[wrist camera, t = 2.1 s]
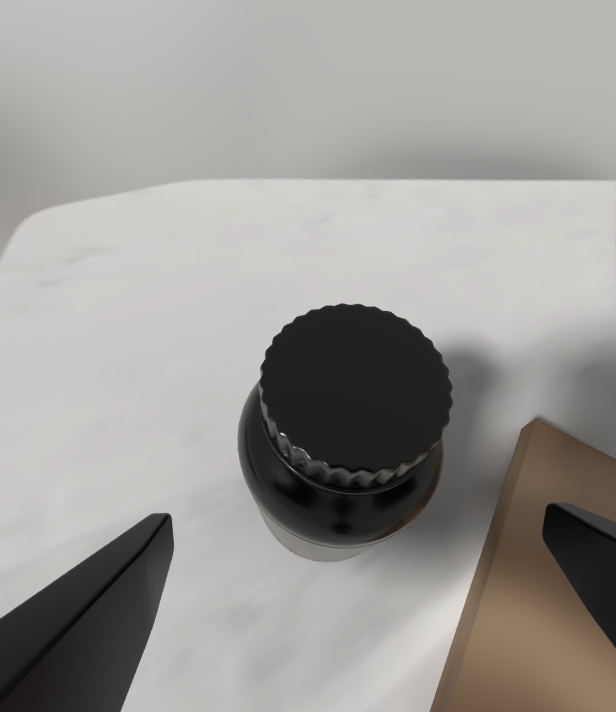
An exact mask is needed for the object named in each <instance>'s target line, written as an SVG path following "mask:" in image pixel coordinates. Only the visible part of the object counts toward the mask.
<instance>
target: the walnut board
mask: <svg viewBox="0 0 616 712" xmlns="http://www.w3.org/2000/svg"><path fill="white" fill-rule="evenodd" d="M551 502H567V503H570V504H573V505H575V506H577V507H580V508H582V509H585V510H587V511H590V512H592V513H595V514H597V515H600V516H602V517H605V518H607V519H610V520H612V521H615V522H616V459H614V458H612V457H611V456H609V455H607V454H605V453H603V452H601V451H599V450H597V449H595V448H593V447H591V446H589V445H587V444H585V443H583V442H581V441H579V440H578V439H576V438H574V437H572V436H570V435H568V434H566V433H564V432H562V431H560V430H558V429H556V428H554V427H552V426H550V425H548V424H546V423H545V422H543V421H541V420H539V419H537V418H536V419H535V420H534V421H532V422H531V423H529V424H528V425H526V426H525V427H524V428H522V430H521V433H520V436H519V439H518V442H517V445H516V448H515V452H514V455H513V458H512V461H511V464H510V467H509V470H508V473H507V476H506V479H505V482H504V485H503V488H502V492H501V495H500V498H499V501H498V504H497V507H496V510H495V513H494V516H493V519H492V522H491V525H490V528H489V532H488V535H487V538H486V541H485V544H484V547H483V550H482V553H481V556H480V559H479V562H478V565H477V568H476V572H475V575H474V578H473V581H472V584H471V587H470V590H469V593H468V596H467V599H466V602H465V605H464V608H463V612H462V615H461V618H460V621H459V624H458V627H457V630H456V633H455V636H454V639H453V642H452V645H451V648H450V651H449V655H448V658H447V661H446V664H445V667H444V670H443V673H442V676H441V679H440V682H439V685H438V688H437V691H436V695H435V698H434V701H433V704H432V707H431V710H430V712H616V648H615V647H614V646H613V644H612V643H611V642H610V640H609V639H608V638H607V636H606V635H605V634H604V632H603V631H602V630H601V628H600V627H599V626H598V624H597V623H596V622H595V620H594V619H593V617H592V616H591V615H590V613H589V612H588V610H587V609H586V608H585V606H584V604H583V603H582V601H581V600H580V598H579V597H578V595H577V594H576V592H575V591H574V589H573V587H572V586H571V584H570V583H569V581H568V579H567V578H566V576H565V575H564V573H563V571H562V570H561V568H560V567H559V565H558V564H557V562H556V560H555V559H554V557H553V556H552V554H551V552H550V551H549V549H548V548H547V546H546V544H545V543H544V540H543V537H542V528H543V522H544V516H545V509H546V506H547V505H548V504H549V503H551Z"/></svg>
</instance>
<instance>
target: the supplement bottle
mask: <svg viewBox="0 0 616 712" xmlns="http://www.w3.org/2000/svg"><path fill="white" fill-rule="evenodd" d="M260 373H261V378H260V380H259V381H258V382H257V383H256V385H255V386H254V388H253V389H252V391H251V392H250V394H249V396H248V398H247V400H246V402H245V405H244V408H243V410H242V414H241V417H240V422H239V428H238V453H239V460H240V464H241V468H242V472H243V475H244V478H245V481H246V483H247V486H248V488H249V490H250V492H251V494H252V496H253V498H254V500H255V502H256V504H257V506H258V508H259V511H260V513H261V515H262V517H263V519H264V521H265V523H266V525H267V526H268V528H269V529H270V531H271V532H272V534H273V535H274V536H275V538H276V539H277V540H278V541H279V542H280V543H281V544H282V545H283V546H285V547H286V548H287V549H288V550H290V551H291V552H293V553H295V554H297V555H298V556H301V557H303V558H306V559H309V560H313V561H318V562H335V561H341V560H345V559H348V558H351V557H353V556H356V555H358V554H360V553H362V552H364V551H366V550H368V549H369V548H371V547H373V546H375V545H377V544H379V543H381V542H383V541H385V540H386V539H388V538H390V537H392V536H394V535H396V534H397V533H399V532H400V531H401V530H403V529H404V528H405V527H407V526H408V525H409V524H410V523H411V522H412V521H413V520H415V519H416V518H417V517H418V515H419V514H420V513H421V512H422V511H423V510H424V509H425V507H426V506H427V504H428V503H429V501H430V500H431V498H432V496H433V494H434V492H435V490H436V487H437V485H438V482H439V479H440V475H441V471H442V466H443V456H444V446H443V436H442V433H443V430H444V428H445V427H446V426H447V425H448V424H449V421H450V418H449V411H450V409H451V408H452V405H453V401H452V398H451V395H450V393H451V391H452V387H453V386H452V384H451V382H450V380H449V378H448V375H449V370H448V368H447V367H446V366H445V364H444V363H443V361H442V355H441V354H440V353H439V352H438V351H437V350H436V349H435V348H434V345H433V343H432V341H431V340H430V339H428V338H427V337H425V336H424V335H423V333H422V332H421V330H420V329H418V328H416V327H414V326H412V325H411V324H410V323H409V322H408V321H407V320H406V319H403V318H400V317H397V316H396V315H394V314H393V313H392V312H389V311H382V310H380V309H379V308H377V307H366V306H364V305H361V304H354V305H347V304H343V303H342V304H339V305H336V306H328V305H326V306H324V307H322V308H321V309H317V310H316V309H315V310H310V311H309V312H308V313H307V314H306V315H302V316H298V317H296V318H295V319H294V321H293V322H292V323H290V324H287V325H285V326H284V327H283V329H282V331H281V333H279V334H277V335H276V336H275V337H273V341H272V345H271V346H270V347H269V348H268V349H267V350H266V352H265V360H264V362H263V363H262V365H261V367H260Z"/></svg>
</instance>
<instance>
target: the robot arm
mask: <svg viewBox="0 0 616 712" xmlns="http://www.w3.org/2000/svg"><path fill="white" fill-rule="evenodd" d="M542 537H543V540H544V543H545V544H546V546H547V548H548V549H549V551H550V552H551V554H552V556H553V557H554V559H555V560H556V562H557V564H558V565H559V567H560V568H561V570H562V571H563V573H564V575H565V576H566V578H567V579H568V581H569V583H570V584H571V586H572V587H573V589H574V591H575V592H576V594H577V595H578V597H579V598H580V600H581V601H582V603H583V604H584V606H585V608H586V609H587V610H588V612H589V613H590V615H591V616H592V617H593V619H594V620H595V622H596V623H597V624H598V626H599V627H600V628H601V630H602V631H603V632H604V634H605V635H606V636H607V638H608V639H609V640H610V642H611V643H612V644H613V646H614V647H615V648H616V522H615V521H612V520H610V519H607V518H605V517H602V516H600V515H597V514H595V513H592V512H590V511H587V510H585V509H582V508H580V507H577V506H575V505H573V504H570V503H567V502H551V503H549V504H548V505H547V506H546V509H545V516H544V522H543V528H542ZM173 551H174V539H173V527H172V518H171V515H170V514H169V513H154V514H151V515H149V516H148V517H146V518H145V519H143V520H142V521H140V522H139V523H137V524H136V525H135V526H133V527H132V528H130V529H129V530H127V531H126V532H124V533H123V534H122V535H120V536H119V537H117V538H116V539H114V540H113V541H111V542H110V543H109V544H107V545H106V546H104V547H103V548H101V549H100V550H99V551H97V552H96V553H94V554H93V555H91V556H90V557H88V558H87V559H86V560H84V561H83V562H81V563H80V564H78V565H77V566H75V567H74V568H73V569H71V570H70V571H68V572H67V573H65V574H64V575H62V576H61V577H60V578H58V579H57V580H55V581H54V582H52V583H51V584H49V585H48V586H47V587H45V588H44V589H42V590H41V591H39V592H38V593H36V594H35V595H34V596H32V597H31V598H29V599H28V600H26V601H25V602H23V603H22V604H21V605H19V606H18V607H16V608H15V609H13V610H12V611H10V612H9V613H8V614H6V615H5V616H3V617H2V618H0V712H121V709H122V706H123V704H124V701H125V699H126V696H127V693H128V691H129V688H130V686H131V683H132V680H133V678H134V675H135V673H136V670H137V667H138V665H139V662H140V660H141V657H142V654H143V652H144V649H145V647H146V644H147V642H148V639H149V636H150V633H151V630H152V628H153V624H154V621H155V618H156V614H157V611H158V607H159V603H160V600H161V596H162V592H163V589H164V585H165V582H166V578H167V574H168V571H169V567H170V564H171V560H172V556H173Z"/></svg>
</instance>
